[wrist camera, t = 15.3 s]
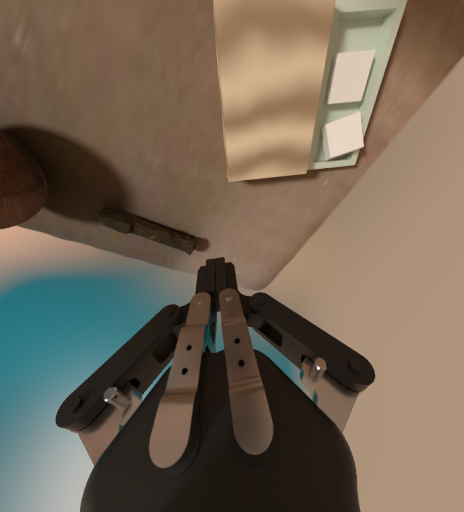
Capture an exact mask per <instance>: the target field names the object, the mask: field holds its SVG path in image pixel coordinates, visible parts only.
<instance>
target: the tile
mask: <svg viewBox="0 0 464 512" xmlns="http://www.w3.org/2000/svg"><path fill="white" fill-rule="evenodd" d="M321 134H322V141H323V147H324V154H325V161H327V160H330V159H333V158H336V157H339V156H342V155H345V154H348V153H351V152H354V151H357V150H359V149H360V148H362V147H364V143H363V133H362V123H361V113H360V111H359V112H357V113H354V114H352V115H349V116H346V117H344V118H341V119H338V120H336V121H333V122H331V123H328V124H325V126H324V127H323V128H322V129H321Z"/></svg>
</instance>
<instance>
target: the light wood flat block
mask: <svg viewBox="0 0 464 512" xmlns="http://www.w3.org/2000/svg"><path fill="white" fill-rule="evenodd" d="M335 2H336V0H214V31H215V42H216V53H217V65H218V76H219V88H220V99H221V110H222V122H223V133H224V145H225V156H226V167H227V176H228V180H229V182H232V181H241V180H251V179H260V178H270V177H279V176H289V175H298V174H306V173H307V167H308V161H309V155H310V149H311V143H312V137H313V132H314V126H315V120H316V114H317V108H318V102H319V96H320V90H321V84H322V79H323V73H324V67H325V61H326V55H327V49H328V43H329V37H330V31H331V26H332V20H333V14H334V8H335Z"/></svg>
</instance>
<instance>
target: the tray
mask: <svg viewBox="0 0 464 512" xmlns="http://www.w3.org/2000/svg"><path fill="white" fill-rule="evenodd" d="M406 3H407V0H336V2H335V8H334V14H333V20H332V26H331V31H330V37H329V43H328V49H327V55H326V61H325V67H324V73H323V79H322V84H321V90H320V96H319V102H318V108H317V114H316V120H315V126H314V132H313V137H312V143H311V149H310V155H309V161H308V167H307V170H312V169H322V168H331V167H341V166H350V165H355V163H356V160H357V157H358V154H359V151H360V149H359V150H357V151H354V152H351V153H348V154H345V155H342V156H339V157H336V158H333V159H330V160H327V161H325V154H324V147H323V141H322V134H321V129H322V128H323V127H324V126H325V124H328V123H331V122H333V121H336V120H338V119H341V118H344V117H346V116H349V115H352V114H354V113H357V112H359V111H360V113H361V123H362V133H363V138H364V135H365V132H366V129H367V126H368V122H369V119H370V116H371V113H372V110H373V107H374V104H375V100H376V97H377V94H378V91H379V88H380V85H381V82H382V78H383V75H384V72H385V69H386V66H387V63H388V60H389V56H390V53H391V50H392V47H393V44H394V41H395V38H396V34H397V31H398V28H399V25H400V22H401V19H402V16H403V12H404V9H405V6H406ZM366 50H375V54H374V57H373V61H372V64H371V68H370V72H369V75H368V79H367V82H366V86H365V89H364V93H363V96H362V100H361V101H357V102H352V103H342V104H332V105H323V103H324V97H325V92H326V87H327V81H328V76H329V70H330V65H331V59H332V57H333V56H334V55H336V54H338V53H345V52H355V51H366Z"/></svg>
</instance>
